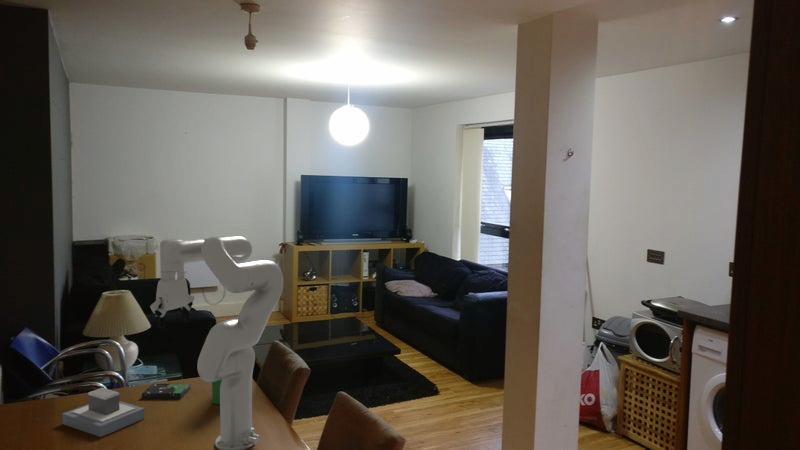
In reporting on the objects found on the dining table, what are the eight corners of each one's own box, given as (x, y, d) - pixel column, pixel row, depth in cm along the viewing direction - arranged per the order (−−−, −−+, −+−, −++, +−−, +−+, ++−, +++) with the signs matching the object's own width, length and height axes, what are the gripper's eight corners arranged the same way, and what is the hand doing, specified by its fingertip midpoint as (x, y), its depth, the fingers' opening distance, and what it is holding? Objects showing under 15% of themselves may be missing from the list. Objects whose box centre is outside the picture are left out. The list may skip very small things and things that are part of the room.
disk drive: (141, 400, 205) (181, 400, 206) (141, 393, 205) (181, 392, 206) (152, 390, 216) (191, 389, 216) (152, 383, 215) (190, 382, 216)
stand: (144, 418, 188) (144, 407, 188) (100, 437, 174) (100, 425, 174) (107, 407, 198) (106, 396, 197) (62, 424, 183) (62, 412, 183)
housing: (102, 404, 190) (102, 387, 189) (119, 409, 186) (119, 392, 185) (88, 409, 185) (88, 392, 185) (105, 415, 181) (105, 397, 181)
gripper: (185, 271, 196) (186, 318, 197) (142, 278, 180) (144, 329, 182) (200, 272, 192) (201, 321, 194) (158, 280, 177) (159, 332, 178)
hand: (173, 325), depth 188 cm, fingers open, 9 cm apart
